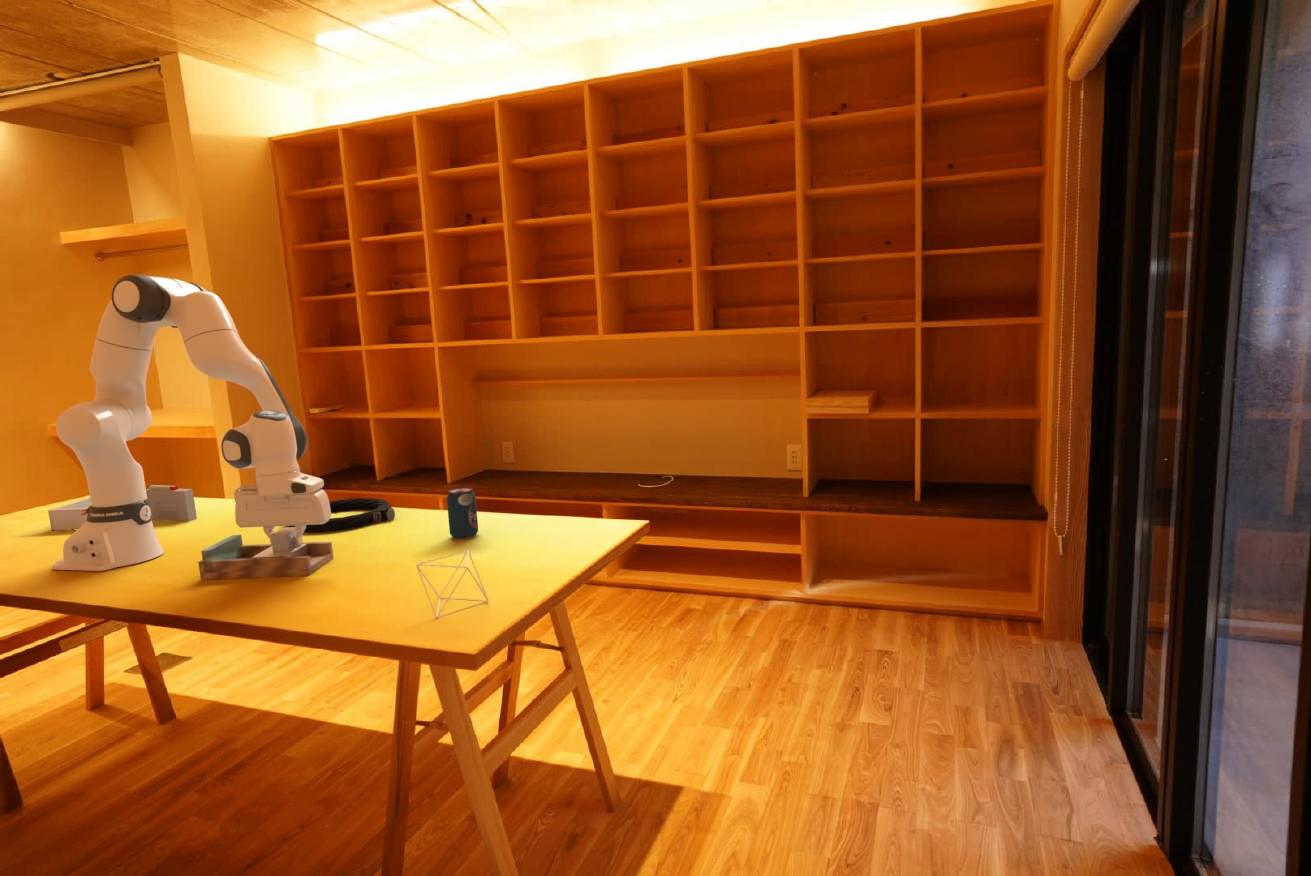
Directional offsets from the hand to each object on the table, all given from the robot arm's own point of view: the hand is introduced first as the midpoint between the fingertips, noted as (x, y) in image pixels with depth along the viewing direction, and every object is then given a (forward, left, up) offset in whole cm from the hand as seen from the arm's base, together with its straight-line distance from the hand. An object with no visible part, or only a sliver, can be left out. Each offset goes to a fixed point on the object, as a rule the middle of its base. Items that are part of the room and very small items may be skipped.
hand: (286, 544), depth 171 cm
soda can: (+34, +20, -6) cm, 40 cm away
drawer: (-5, 0, -6) cm, 7 cm away
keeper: (-2, 0, -4) cm, 4 cm away
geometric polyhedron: (+45, -27, -6) cm, 53 cm away
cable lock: (-6, +42, -6) cm, 43 cm away
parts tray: (-84, +54, -6) cm, 100 cm away
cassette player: (-61, +51, -6) cm, 80 cm away
